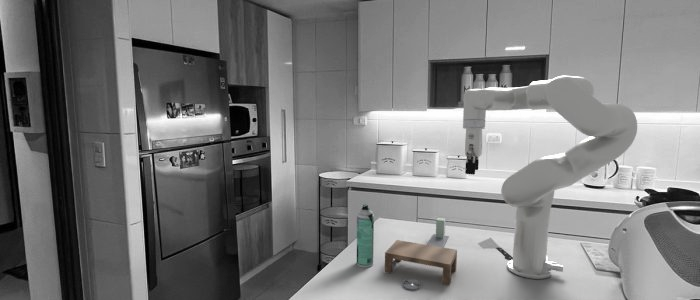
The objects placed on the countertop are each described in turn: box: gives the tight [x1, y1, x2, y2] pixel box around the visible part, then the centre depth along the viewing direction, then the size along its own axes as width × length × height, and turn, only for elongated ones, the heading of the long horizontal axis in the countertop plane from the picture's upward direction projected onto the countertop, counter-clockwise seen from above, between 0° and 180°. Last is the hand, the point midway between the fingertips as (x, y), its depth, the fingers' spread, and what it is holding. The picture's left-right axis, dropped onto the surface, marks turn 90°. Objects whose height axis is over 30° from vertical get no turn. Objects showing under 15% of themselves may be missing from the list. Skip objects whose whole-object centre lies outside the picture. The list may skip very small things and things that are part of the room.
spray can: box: [356, 204, 375, 268], centre depth 122 cm, size 6×6×20 cm
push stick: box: [426, 217, 450, 248], centre depth 138 cm, size 6×25×8 cm, turn 156°
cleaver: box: [477, 237, 513, 261], centre depth 141 cm, size 29×1×10 cm
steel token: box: [402, 278, 421, 291], centre depth 109 cm, size 5×5×1 cm
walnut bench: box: [384, 239, 458, 286], centre depth 118 cm, size 20×12×6 cm, turn 65°
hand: (471, 171), depth 135 cm, fingers open, 9 cm apart
